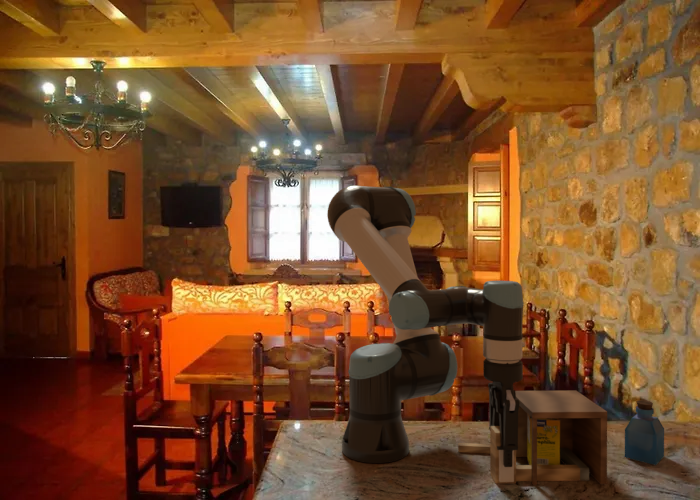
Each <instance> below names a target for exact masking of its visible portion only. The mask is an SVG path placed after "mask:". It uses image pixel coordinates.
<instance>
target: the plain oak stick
mask: <svg viewBox="0 0 700 500" xmlns="http://www.w3.org/2000/svg"><path fill="white" fill-rule="evenodd" d="M457 447H458V448H457V449H458V450H457V451H458V453H472V454H486V455H487V454H489V455H490V443H489V444H488V443H470V442H458V443H457Z"/></svg>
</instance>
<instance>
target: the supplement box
mask: <svg viewBox="0 0 700 500" xmlns="http://www.w3.org/2000/svg"><path fill="white" fill-rule="evenodd" d="M526 460H527V465H532V418H531V417H530V416H529V415H528V414H527V457H526ZM537 465H561V460H560V420H559V418H537Z"/></svg>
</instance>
